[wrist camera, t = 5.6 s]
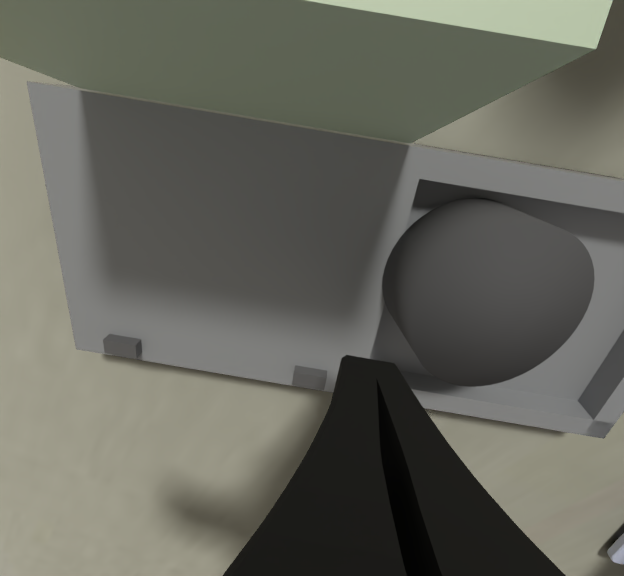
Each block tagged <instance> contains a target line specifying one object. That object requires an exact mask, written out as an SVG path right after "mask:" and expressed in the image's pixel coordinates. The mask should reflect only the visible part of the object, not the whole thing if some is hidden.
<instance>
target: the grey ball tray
mask: <svg viewBox="0 0 624 576" xmlns="http://www.w3.org/2000/svg"><path fill="white" fill-rule="evenodd" d="M27 86H28V91H29V97H30V102H31V107H32V113H33V118H34V124H35V129H36V135H37V140H38V145H39V151H40V156H41V162H42V167H43V172H44V178H45V183H46V189H47V194H48V199H49V205H50V210H51V216H52V221H53V227H54V232H55V237H56V243H57V248H58V254H59V259H60V264H61V270H62V275H63V281H64V286H65V291H66V297H67V302H68V308H69V313H70V319H71V324H72V329H73V335H74V340H75V346H76V349H78V350H84V351H90V352H96V353H102V354H108V355H114V356H119V357H125V358H131V359H137V360H143V361H149V362H155V363H161V364H167V365H173V366H178V367H184V368H190V369H196V370H202V371H208V372H214V373H220V374H226V375H232V376H237V377H243V378H249V379H255V380H261V381H267V382H273V383H279V384H285V385H291V386H297V387H302V388H308V389H314V390H320V391H326V392H332V393H333V392H334V388H335V384H336V379H337V375H338V371H339V367H340V362H341V358H342V357H344V356H346V355H351V356H356V357H362V358H368V359H374V360H379V361H385V362H391V363H395V365H396V366H397V368H398V369H399V371H400V372H401V374H402V375H403V377H404V379H405V380H406V382H407V383H408V385H409V386H410V388H411V390H412V391H413V393H414V394H415V396H416V397H417V399H418V400H419V402H420V403H421V405H422V406H423V408H426V409H432V410H438V411H444V412H450V413H456V414H462V415H468V416H474V417H480V418H485V419H491V420H497V421H503V422H509V423H515V424H521V425H527V426H533V427H539V428H545V429H550V430H556V431H562V432H568V433H574V434H580V435H586V436H592V437H598V438H605V436H606V435H607V434H608V432H609V431H610V430H611V428H612V427H613V426H614V424H615V423H616V422H617V420H618V419H619V417H620V416H621V415H622V413H623V412H624V179H622V178H616V177H610V176H604V175H598V174H592V173H586V172H580V171H574V170H568V169H562V168H556V167H550V166H544V165H538V164H532V163H526V162H520V161H514V160H508V159H502V158H496V157H490V156H484V155H479V154H473V153H467V152H461V151H455V150H449V149H443V148H437V147H431V146H425V145H419V144H413V143H404V142H398V141H392V140H386V139H380V138H374V137H368V136H362V135H356V134H350V133H344V132H338V131H332V130H326V129H320V128H314V127H308V126H302V125H296V124H290V123H284V122H278V121H272V120H266V119H260V118H254V117H249V116H243V115H237V114H231V113H225V112H219V111H213V110H207V109H201V108H195V107H189V106H183V105H177V104H171V103H165V102H159V101H153V100H147V99H141V98H135V97H129V96H123V95H117V94H111V93H105V92H99V91H93V90H88V89H82V88H79V87H73V86H67V85H58V84H48V83H38V82H28V81H27ZM466 198H486V199H490V200H495V201H497V202H500V203H502V204H505V205H507V206H509V207H512V208H514V209H516V210H519V211H521V212H523V213H526V214H528V215H530V216H533V217H535V218H538V219H540V220H542V221H545V222H547V223H549V224H552V225H554V226H556V227H559V228H561V229H563V230H566V231H568V232H569V233H571V234H572V235H574V236H576V237H577V238H578V239H579V240H580V241H581V242H582V243H583V244H584V246H585V247H586V249H587V250H588V252H589V254H590V257H591V259H592V262H593V267H594V278H595V280H594V290H593V294H592V298H591V301H590V304H589V306H588V309H587V311H586V313H585V315H584V317H583V319H582V321H581V322H580V324H579V325H578V327H577V329H576V330H575V331H574V333H573V334H572V335H571V336H570V338H569V339H568V340H567V341H566V342H565V343H564V344H563V345H562V346H561V347H560V348H559V349H558V350H557V351H556V352H555V353H554V354H553V355H552V356H550V357H549V358H548V359H546V360H545V361H544V362H542V363H541V364H539V365H538V366H536V367H535V368H533V369H531V370H529V371H528V372H526V373H524V374H522V375H520V376H517V377H515V378H513V379H510V380H507V381H504V382H501V383H497V384H492V385H487V386H476V387H467V386H458V385H453V384H450V383H447V382H444V381H442V380H440V379H438V378H436V377H434V376H433V375H432V374H431V373H429V372H428V371H427V370H426V369H425V368H424V367H423V366H422V364H421V362H420V361H419V359H418V358H417V356H416V354H415V353H414V351H413V350H412V348H411V346H410V345H409V343H408V342H407V340H406V338H405V337H404V335H403V333H402V332H401V330H400V329H399V327H398V325H397V324H396V322H395V321H394V319H393V317H392V316H391V314H390V313H389V311H388V309H387V306H386V304H385V301H384V296H383V287H382V285H383V275H384V270H385V266H386V263H387V260H388V258H389V256H390V254H391V252H392V249H393V248H394V246H395V245H396V243H397V241H398V240H399V239H400V237H401V236H402V235H403V234H404V233H405V231H406V230H407V229H408V228H409V227H410V226H411V225H412V224H413V223H414V222H416V221H417V220H418V219H419V218H421V217H422V216H423V215H425V214H426V213H428V212H430V211H431V210H433V209H435V208H437V207H439V206H441V205H443V204H446V203H449V202H452V201H456V200H460V199H466Z"/></svg>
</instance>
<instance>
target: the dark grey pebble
mask: <svg viewBox="0 0 624 576" xmlns="http://www.w3.org/2000/svg"><path fill="white" fill-rule="evenodd" d="M594 280H595V278H594V267H593V262H592V259H591V257H590V254H589V252H588V250H587V249H586V247H585V246H584V244H583V243H582V242H581V241H580V240H579V239H578V238H577V237H576V236H574V235H572V234H571V233H569V232H568V231H566V230H563V229H561V228H559V227H556V226H554V225H552V224H549V223H547V222H545V221H542V220H540V219H538V218H535V217H533V216H530V215H528V214H526V213H523V212H521V211H519V210H516V209H514V208H512V207H509V206H507V205H505V204H502V203H500V202H497V201H495V200H490V199H486V198H466V199H460V200H456V201H452V202H449V203H446V204H443V205H441V206H439V207H437V208H435V209H433V210H431V211H430V212H428V213H426V214H425V215H423V216H422V217H421V218H419V219H418V220H417V221H416V222H414V223H413V224H412V225H411V226H410V227H409V228H408V229H407V230H406V231H405V233H404V234H403V235H402V236H401V237H400V239H399V240H398V241H397V243H396V245H395V246H394V248H393V249H392V252H391V254H390V256H389V258H388V260H387V263H386V266H385V270H384V275H383V285H382V287H383V296H384V301H385V304H386V306H387V309H388V311H389V313H390V314H391V316H392V317H393V319H394V321H395V322H396V324H397V325H398V327H399V329H400V330H401V332H402V333H403V335H404V337H405V338H406V340H407V342H408V343H409V345H410V346H411V348H412V350H413V351H414V353H415V354H416V356H417V358H418V359H419V361H420V362H421V364H422V366H423V367H424V368H425V369H426V370H427V371H428V372H429V373H431V374H432V375H433V376H434V377H436V378H438V379H440V380H442V381H444V382H447V383H450V384H453V385H458V386H467V387H476V386H487V385H492V384H497V383H501V382H504V381H507V380H510V379H513V378H515V377H517V376H520V375H522V374H524V373H526V372H528V371H529V370H531V369H533V368H535V367H536V366H538V365H539V364H541V363H542V362H544V361H545V360H546V359H548V358H549V357H550V356H552V355H553V354H554V353H555V352H556V351H557V350H558V349H559V348H560V347H561V346H562V345H563V344H564V343H565V342H566V341H567V340H568V339H569V338H570V336H571V335H572V334H573V333H574V331H575V330H576V329H577V327H578V325H579V324H580V322H581V321H582V319H583V317H584V315H585V313H586V311H587V309H588V306H589V304H590V301H591V298H592V294H593V290H594Z"/></svg>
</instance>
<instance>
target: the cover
mask: <svg viewBox="0 0 624 576" xmlns="http://www.w3.org/2000/svg"><path fill="white" fill-rule="evenodd" d="M612 1H613V0H0V57H1V58H3V59H6V60H8V61H11V62H14V63H16V64H19V65H21V66H24V67H27V68H29V69H32V70H34V71H37V72H40V73H42V74H45V75H47V76H50V77H53V78H55V79H58V80H60V81H63V82H66V83H68V84H71V85H74V86H76V87H79V88H82V89H88V90H93V91H99V92H105V93H111V94H117V95H123V96H129V97H135V98H141V99H147V100H153V101H159V102H165V103H171V104H177V105H183V106H189V107H195V108H201V109H207V110H213V111H219V112H225V113H231V114H237V115H243V116H249V117H254V118H260V119H266V120H272V121H278V122H284V123H290V124H296V125H302V126H308V127H314V128H320V129H326V130H332V131H338V132H344V133H350V134H356V135H362V136H368V137H374V138H380V139H386V140H392V141H398V142H404V143H412V142H414V141H416V140H418V139H420V138H422V137H424V136H426V135H428V134H430V133H432V132H434V131H436V130H438V129H440V128H442V127H444V126H446V125H448V124H450V123H452V122H454V121H455V120H457V119H459V118H461V117H463V116H465V115H467V114H469V113H471V112H473V111H475V110H477V109H479V108H481V107H483V106H485V105H487V104H489V103H491V102H493V101H495V100H497V99H499V98H501V97H503V96H505V95H507V94H509V93H511V92H513V91H515V90H517V89H519V88H521V87H522V86H524V85H526V84H528V83H530V82H532V81H534V80H536V79H538V78H540V77H542V76H544V75H546V74H548V73H550V72H552V71H554V70H556V69H558V68H560V67H562V66H564V65H566V64H568V63H570V62H572V61H574V60H576V59H578V58H580V57H582V56H584V55H586V54H588V53H590V52H591V51H593V50H595V49H596V48H597V45H598V42H599V39H600V37H601V34H602V31H603V28H604V25H605V22H606V19H607V16H608V13H609V10H610V7H611V4H612Z"/></svg>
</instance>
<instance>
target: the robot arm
mask: <svg viewBox="0 0 624 576" xmlns="http://www.w3.org/2000/svg"><path fill="white" fill-rule="evenodd" d="M607 553H608V555H609V557H610V559H611V560H612V561H613V562H615V563H618V564H623V565H624V533H623V534H622V535H621V536H620V537H619V538H618V539H617V540H616V541H615V543H614V544H613V545H612V546H611V547H610V548H609V549H608V551H607ZM223 576H565V575H564V574H563V573H562V572H561V571H560V570H559V569H558V567H557V566H556V565H555V564H554V563H553V562H552V561H551V560H550V559H549V558H548V557H547V556H546V555H545V554H544V553H543V552H542V551H541V550H540V549H539V548H538V547H537V546H536V545H535V544H534V543H533V542H532V541H531V540H530V539H529V538H528V537H527V536H526V535H525V534H524V533H523V532H522V530H521V529H520V528H519V527H518V526H517V525H516V524H515V523H514V522H513V521H512V520H511V518H510V517H509V516H508V515H507V514H506V513H505V512H504V511H503V509H502V508H501V507H500V506H499V505H498V504H497V503H496V502H495V500H494V499H493V498H492V497H491V496H490V495H489V494H488V492H487V491H486V490H485V489H484V488H483V487H482V485H481V484H480V483H479V482H478V481H477V479H476V478H475V477H474V476H473V475H472V473H471V472H470V471H469V470H468V468H467V467H466V466H465V464H464V463H463V462H462V461H461V459H460V458H459V457H458V455H457V454H456V453H455V452H454V450H453V449H452V448H451V446H450V445H449V444H448V442H447V441H446V440H445V438H444V437H443V435H442V434H441V433H440V431H439V430H438V428H437V427H436V425H435V424H434V423H433V421H432V420H431V418H430V417H429V415H428V414H427V412H426V411H425V409H424V408H423V406H422V405H421V403H420V402H419V400H418V399H417V397H416V396H415V394H414V393H413V391H412V390H411V388H410V386H409V385H408V383H407V382H406V380H405V379H404V377H403V375H402V374H401V372H400V371H399V369H398V368H397V366H396V365H395V363H391V362H385V361H379V360H374V359H368V358H362V357H356V356H351V355H346V356H344V357H342V358H341V362H340V367H339V371H338V375H337V379H336V384H335V388H334V392H333V397H332V401H331V404H330V407H329V409H328V412H327V414H326V416H325V418H324V420H323V422H322V424H321V426H320V428H319V430H318V432H317V434H316V437H315V439H314V441H313V442H312V444H311V446H310V448H309V450H308V452H307V453H306V455H305V457H304V459H303V460H302V462H301V464H300V466H299V467H298V469H297V471H296V472H295V474H294V476H293V477H292V479H291V480H290V482H289V484H288V485H287V487H286V488H285V490H284V491H283V493H282V494H281V496H280V497H279V499H278V500H277V502H276V503H275V505H274V506H273V508H272V509H271V511H270V512H269V514H268V515H267V517H266V518H265V520H264V521H263V522H262V524H261V525H260V527H259V528H258V529H257V531H256V532H255V533H254V535H253V536H252V537H251V539H250V540H249V541H248V543H247V544H246V545H245V547H244V548H243V549H242V551H241V552H240V553H239V555H238V556H237V557H236V559H235V560H234V561H233V563H232V564H231V565H230V567H229V568H228V569H227V571H226V572H225V573H224V575H223Z"/></svg>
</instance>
